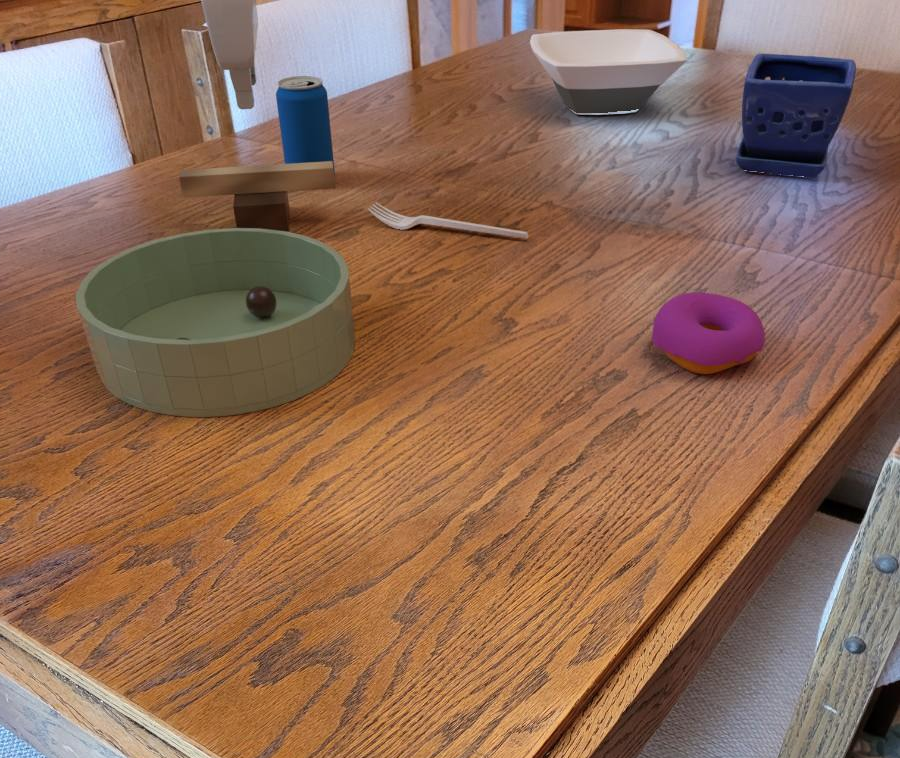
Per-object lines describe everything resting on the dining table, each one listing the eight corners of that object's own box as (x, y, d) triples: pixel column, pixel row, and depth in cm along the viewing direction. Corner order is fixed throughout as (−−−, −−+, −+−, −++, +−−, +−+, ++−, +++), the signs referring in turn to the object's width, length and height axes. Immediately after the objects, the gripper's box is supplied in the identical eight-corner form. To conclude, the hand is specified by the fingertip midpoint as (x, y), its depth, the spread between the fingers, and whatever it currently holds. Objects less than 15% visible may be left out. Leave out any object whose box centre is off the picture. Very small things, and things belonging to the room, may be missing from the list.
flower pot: (829, 186, 117) (856, 84, 109) (725, 176, 121) (744, 76, 112) (832, 154, 126) (857, 58, 118) (735, 146, 130) (754, 51, 121)
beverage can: (344, 183, 121) (335, 83, 113) (301, 193, 118) (288, 91, 110) (321, 170, 125) (310, 72, 117) (279, 179, 122) (265, 80, 114)
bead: (248, 324, 90) (242, 295, 88) (249, 310, 92) (243, 282, 90) (278, 321, 90) (273, 293, 88) (278, 308, 92) (274, 280, 90)
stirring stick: (183, 197, 107) (178, 176, 105) (184, 190, 108) (180, 169, 107) (335, 188, 108) (333, 167, 106) (334, 181, 110) (332, 160, 108)
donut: (691, 390, 81) (700, 343, 78) (627, 342, 87) (632, 297, 84) (781, 363, 84) (793, 317, 81) (712, 319, 91) (721, 275, 88)
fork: (523, 245, 105) (524, 229, 103) (366, 225, 110) (365, 209, 109) (531, 235, 107) (532, 219, 106) (377, 215, 112) (376, 200, 111)
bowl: (519, 90, 152) (521, 32, 146) (651, 84, 154) (658, 27, 148) (543, 130, 136) (546, 67, 131) (690, 123, 138) (699, 60, 132)
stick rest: (239, 240, 107) (232, 206, 104) (241, 210, 114) (236, 177, 112) (289, 237, 108) (285, 203, 105) (289, 207, 115) (285, 174, 112)
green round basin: (78, 428, 78) (52, 354, 73) (116, 302, 95) (98, 236, 91) (362, 404, 80) (356, 331, 75) (348, 286, 98) (342, 220, 93)
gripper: (200, -70, 99) (224, 72, 108) (184, -38, 84) (214, 123, 94) (257, -72, 99) (276, 70, 109) (253, -41, 85) (275, 120, 94)
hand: (247, 95), depth 101 cm, fingers open, 8 cm apart
